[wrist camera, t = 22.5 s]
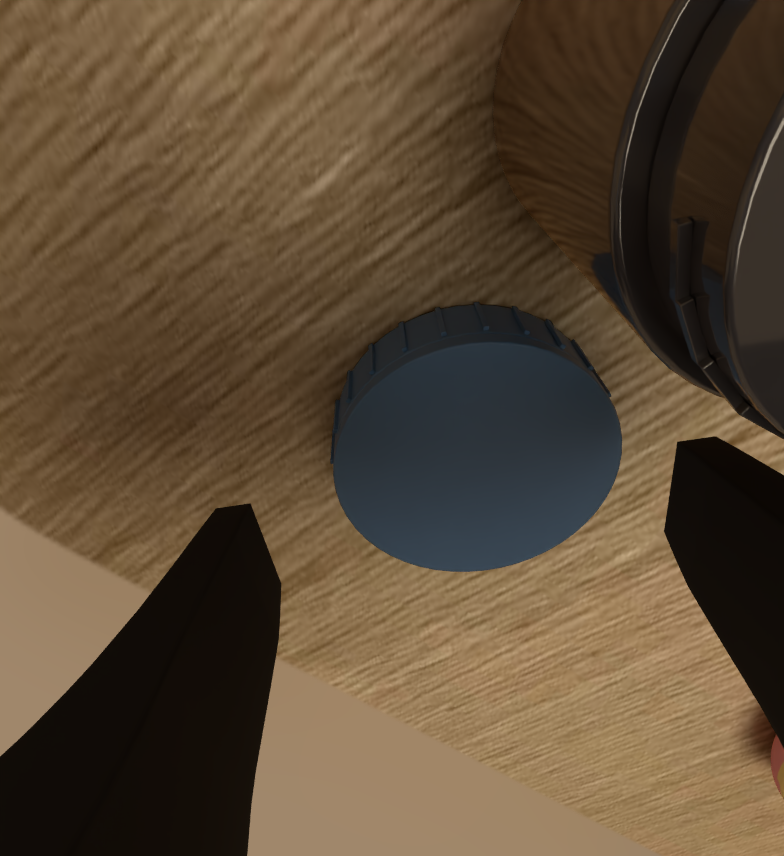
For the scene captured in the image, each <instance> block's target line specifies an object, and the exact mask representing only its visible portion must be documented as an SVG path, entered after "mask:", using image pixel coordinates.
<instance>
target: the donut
mask: <svg viewBox="0 0 784 856" xmlns="http://www.w3.org/2000/svg"><path fill="white" fill-rule="evenodd" d="M771 768H772V774H773V777H774V780H775V783H776V786H777V788H778V790H779V792H780V794H781V795H782V797H783V799H784V748H783V746H782V744H781V742H780V740H779V738H778V737H777V735H776V736H775V738H774V741H773V745H772V750H771Z"/></svg>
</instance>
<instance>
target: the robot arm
mask: <svg viewBox="0 0 784 856" xmlns="http://www.w3.org/2000/svg"><path fill="white" fill-rule="evenodd" d="M664 532H665V535H666V537H667V540H668V542H669V544H670V547H671V549H672V551H673V554H674V556H675V559H676V561H677V563H678V565H679V568H680V570H681V572H682V574H683V576H684V579H685V581H686V583H687V585H688V587H689V589H690V590H691V592H692V594H693V596H694V597H695V599H696V601H697V602H698V604H699V606H700V607H701V609H702V611H703V612H704V614H705V616H706V617H707V619H708V621H709V622H710V624H711V626H712V627H713V629H714V631H715V632H716V634H717V636H718V637H719V639H720V641H721V642H722V644H723V646H724V647H725V649H726V650H727V652H728V654H729V655H730V657H731V659H732V660H733V662H734V664H735V665H736V667H737V669H738V670H739V672H740V673H741V675H742V677H743V678H744V680H745V682H746V683H747V685H748V687H749V688H750V690H751V692H752V693H753V695H754V696H755V698H756V700H757V701H758V703H759V705H760V706H761V708H762V710H763V711H764V713H765V715H766V717H767V719H768V720H769V722H770V724H771V726H772V728H773V729H774V731H775V733H776V735H777V737H778V738H779V740H780V742H781V744H782V746H783V748H784V475H782V474H781V473H779V472H777V471H775V470H774V469H772V468H770V467H769V466H767V465H765V464H763V463H762V462H760V461H758V460H757V459H755V458H753V457H751V456H750V455H748V454H746V453H745V452H743V451H741V450H739V449H738V448H736V447H734V446H732V445H730V444H729V443H727V442H725V441H723V440H721V439H719V438H717V437H708V438H701V439H694V440H687V441H680V442H677V448H676V455H675V462H674V469H673V475H672V482H671V489H670V496H669V502H668V509H667V516H666V523H665V529H664ZM280 605H281V582H280V579H279V577H278V574H277V571H276V569H275V566H274V564H273V561H272V558H271V556H270V553H269V551H268V548H267V545H266V543H265V540H264V537H263V535H262V532H261V530H260V527H259V524H258V522H257V519H256V517H255V514H254V511H253V509H252V506H251V504H243V505H236V506H229V507H223V508H216V509H215V510H214V512H213V513H212V514H211V515H210V517H209V518H208V519H207V521H206V522H205V523H204V525H203V526H202V527H201V529H200V530H199V531H198V532H197V534H196V535H195V536H194V538H193V539H192V540H191V542H190V543H189V544H188V546H187V547H186V548H185V550H184V551H183V552H182V554H181V555H180V556H179V558H178V559H177V560H176V562H175V563H174V564H173V566H172V567H171V568H170V570H169V571H168V572H167V574H166V575H165V576H164V577H163V579H162V580H161V581H160V583H159V584H158V585H157V586H156V588H155V589H154V590H153V591H152V593H151V594H150V595H149V597H148V598H147V599H146V600H145V602H144V603H143V604H142V606H141V607H140V608H139V609H138V611H137V612H136V613H135V614H134V616H133V617H132V618H131V619H130V620H129V621H128V622H127V624H126V625H125V626H124V627H123V628H122V630H121V631H120V632H119V633H118V634H117V635H116V637H115V638H114V639H113V640H112V641H111V642H110V644H109V645H108V646H107V647H106V648H105V650H104V651H103V652H102V653H101V654H100V655H99V657H98V658H97V659H96V660H95V661H94V662H93V664H92V665H91V666H90V667H89V668H88V669H87V670H86V671H85V672H84V673H83V675H82V676H81V677H80V678H79V679H78V680H77V681H76V682H75V683H74V684H73V685H72V686H71V687H70V688H69V690H68V691H67V692H66V693H65V694H64V695H63V696H62V697H61V698H60V699H59V700H58V701H57V702H56V703H55V704H54V705H53V706H52V707H51V708H50V709H49V710H48V711H47V712H46V713H45V714H44V715H43V716H42V717H41V718H40V719H39V720H38V721H37V722H36V723H35V724H34V725H33V726H32V727H31V728H30V729H29V730H28V731H27V732H26V733H25V734H24V735H23V736H22V737H21V738H20V739H19V740H18V741H17V742H16V743H14V744H13V746H11V747H10V748H9V749H8V750H7V751H6V752H5V753H4V754H3V755H1V756H0V856H247V851H248V839H249V826H250V813H251V803H252V795H253V787H254V780H255V773H256V767H257V761H258V755H259V750H260V744H261V739H262V733H263V727H264V721H265V715H266V710H267V705H268V699H269V693H270V688H271V682H272V676H273V670H274V664H275V659H276V653H277V646H278V640H279V625H280Z"/></svg>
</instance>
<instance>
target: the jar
mask: <svg viewBox="0 0 784 856" xmlns="http://www.w3.org/2000/svg"><path fill="white" fill-rule="evenodd" d="M493 123H494V134H495V142H496V146H497V151H498V155H499V160H500V163H501V166H502V168H503V171H504V174H505V176H506V179H507V181H508V183H509V185H510V187H511V189H512V190H513V192H514V194H515V196H516V197H517V199H518V200H519V202H520V203H521V204H522V206H523V207H524V208H525V210H526V211H527V212H528V213H529V214H530V215H531V217H532V218H533V219H534V220H535V221H536V222H537V223H538V224H539V226H540V227H541V228H542V229H543V230H544V231H545V232H546V233H547V235H548V236H549V237H550V238H551V239H552V240H553V241H554V242H555V243H556V245H557V246H558V247H559V248H560V249H561V250H562V251H563V252H564V254H565V255H566V256H567V257H568V258H569V259H570V260H571V261H572V263H573V264H574V265H575V266H576V267H577V268H578V269H579V270H580V271H581V273H582V274H583V275H584V276H585V277H586V278H587V279H588V280H589V282H590V283H591V284H592V285H593V286H594V287H595V288H596V289H597V291H598V292H599V293H600V294H601V295H602V296H603V297H604V298H605V300H606V301H607V302H608V303H609V304H610V305H611V306H612V307H613V308H614V310H615V311H616V312H617V313H618V314H619V315H620V316H621V317H622V319H623V320H624V321H625V322H626V323H627V324H628V325H629V326H630V328H631V329H632V330H633V331H634V332H635V333H636V334H637V335H638V336H639V338H640V339H641V340H642V341H643V342H644V343H645V344H646V345H647V347H648V348H649V349H650V350H651V351H652V352H653V353H654V354H655V355H656V356H657V357H658V358H659V359H660V360H661V361H662V362H663V363H664V364H665V365H666V366H667V367H668V368H669V369H671V370H672V371H673V372H675V373H676V374H678V375H679V376H681V377H682V378H684V379H685V380H686V381H688V382H689V383H691V384H693V385H695V386H697V387H699V388H701V389H703V390H705V391H707V392H709V393H712V394H714V395H716V396H719V397H723V398H725V400H726V401H727V402H728V403H729V404H730V406H731V407H732V408H733V409H734V410H735V411H736V412H737V413H738V414H739V415H741V416H742V417H744V418H746V419H748V420H750V421H751V422H753V423H755V424H757V425H759V426H761V427H762V428H764V429H766V430H768V431H770V432H772V433H773V434H775V435H777V436H779V437H781V438H782V439H784V0H522V1H521V3H520V5H519V7H518V9H517V12H516V14H515V16H514V18H513V20H512V22H511V25H510V28H509V30H508V33H507V36H506V39H505V41H504V44H503V47H502V51H501V55H500V60H499V64H498V68H497V72H496V80H495V87H494V95H493Z"/></svg>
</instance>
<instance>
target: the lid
mask: <svg viewBox="0 0 784 856" xmlns="http://www.w3.org/2000/svg"><path fill="white" fill-rule="evenodd" d="M368 349H369V350H368V351H367V352H366V353H365V354H364V356H363V357H362V358H361V359H360V360H359V362H358V363H357V365H356V366H355V367H354V369H353V370H352V371H350V370H349V371H348V373H347V381H346V383H345V385H344V388H343V391H342V394H341V397H340V400H336V402H335V412H334V425H333V433H332V446H331V459H330V462H331V464H333V477H334V483H335V489H336V493H337V496H338V499H339V502H340V504H341V506H342V508H343V510H344V512H345V514H346V516H347V517H348V519H349V520H350V521H351V523H352V524H353V525H354V527H355V528H356V529H357V530H358V531H359V532H360V533H361V534H362V535H363V536H364V537H365V538H366V539H367V540H368V541H369V542H371V543H372V544H373V545H375V546H376V547H377V548H379V549H380V550H382V551H384V552H385V553H387V554H389V555H391V556H393V557H395V558H397V559H400V560H402V561H404V562H407V563H410V564H413V565H416V566H420V567H424V568H429V569H434V570H442V571H452V572H470V571H484V570H490V569H496V568H501V567H505V566H509V565H513V564H517V563H519V562H522V561H525V560H528V559H531V558H533V557H535V556H537V555H540V554H542V553H544V552H546V551H548V550H550V549H551V548H553V547H555V546H557V545H558V544H560V543H562V542H563V541H564V540H566V539H567V538H569V537H570V536H571V535H573V534H574V533H575V532H576V531H578V530H579V529H580V528H581V527H582V526H583V525H584V524H585V523H586V522H587V521H588V520H589V519H590V518H591V517H592V516H593V515H594V514H595V512H596V511H597V510H598V509H599V507H600V506H601V504H602V503H603V502H604V500H605V499H606V497H607V495H608V493H609V491H610V490H611V488H612V486H613V484H614V481H615V478H616V475H617V472H618V470H619V465H620V460H621V454H622V434H621V428H620V422H619V419H618V416H617V413H616V410H615V407H614V405H613V404H612V402H611V400H610V398H609V397H611V394H610V392H609V390H608V389H607V387H606V386H605V385H604V383H603V382H602V380H601V379H600V377H599V376H598V374H597V373H596V371H595V370H594V367H593V366H592V364H591V363H590V361H589V360H588V359H587V357H586V356H585V354H584V353H583V351H582V350H581V348H580V347H579V345H578V344H577V342H576V341H575V340H574V339H573V340H572V341H570V340H569V339H568V338H566V337H565V336H564V335H563V334H562V333H561V332H560V331H559V330H557V329H556V328H555V327H554V326H553V324H552V322H551V321H550V320H548V319H546V320H545V321H543V320H541V319H539V318H537V317H535V316H533V315H531V314H528V313H525V312H521V311H519V310H518V308H517V307H515V306H512V308H505V307H500V306H492V305H480V304H479V302H474V305H466V306H455V307H450V308H445V309H440V307H438V308H435V311H433V312H430V313H427V314H424V315H421V316H419V317H416V318H414V319H412V320H410V321H408V322H406V323H404V322H403V321H402V322H400V323H399V327H397V328H396V329H394V330H392V331H391V332H389V333H388V334H386V335H385V336H384V337H383V338H381V339H380V340H379V341H378V342H377V343H375V344H372V343H371V344H370V345H369V346H368Z"/></svg>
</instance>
